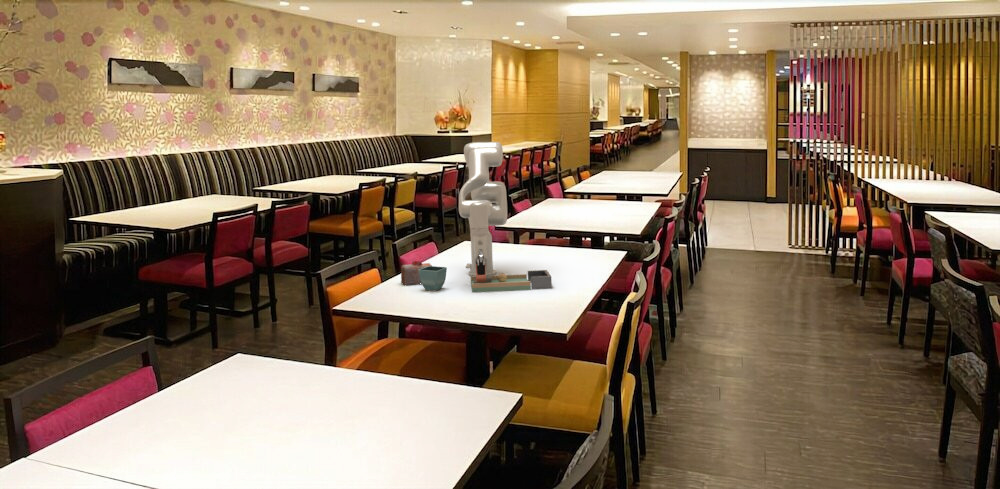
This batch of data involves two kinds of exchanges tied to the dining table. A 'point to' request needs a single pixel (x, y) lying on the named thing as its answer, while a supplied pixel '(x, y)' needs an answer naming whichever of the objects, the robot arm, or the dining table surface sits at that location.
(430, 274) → the flower pot
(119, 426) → the dining table surface
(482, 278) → the silver-capped pink block
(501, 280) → the ball
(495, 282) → the pitch
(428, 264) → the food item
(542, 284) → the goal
